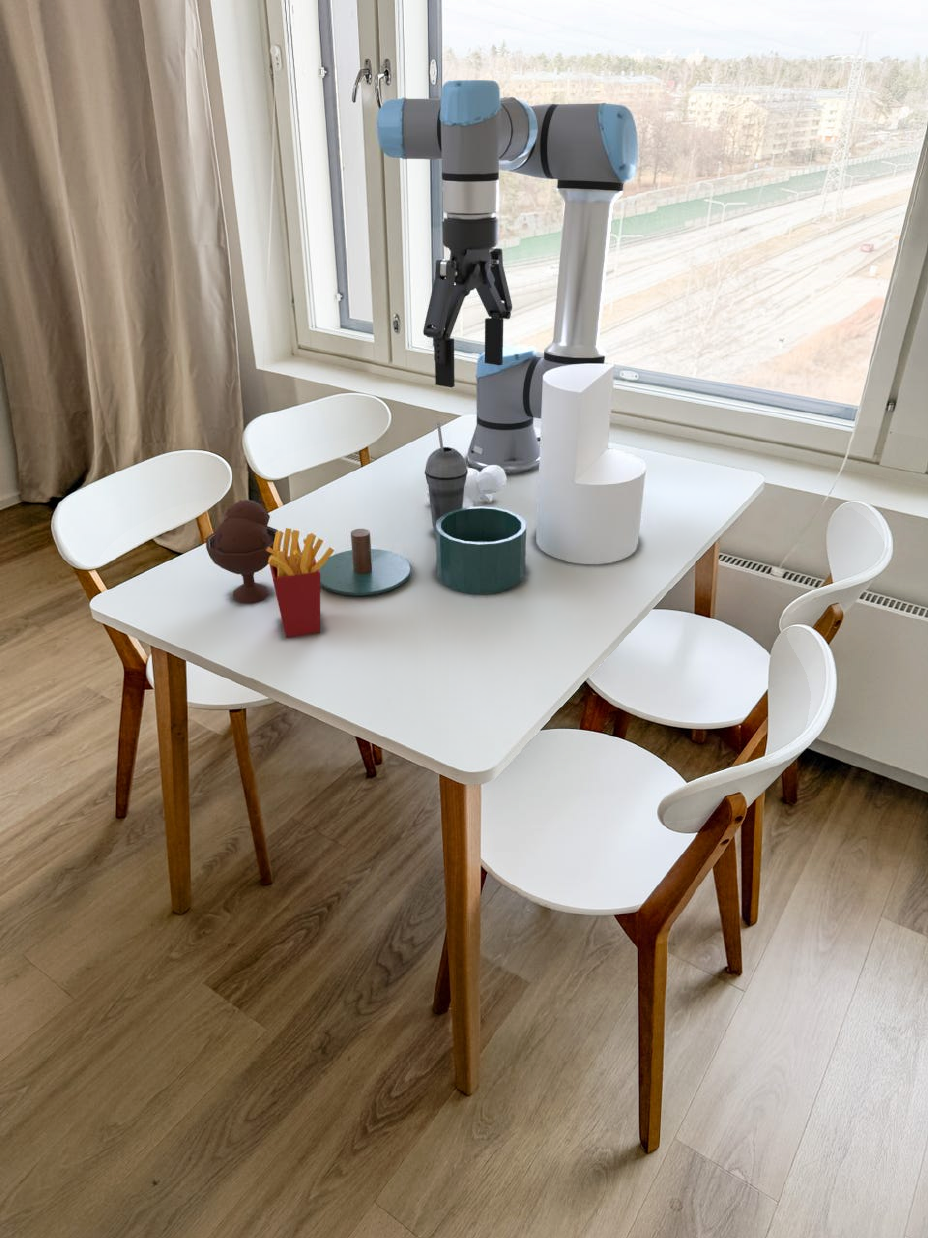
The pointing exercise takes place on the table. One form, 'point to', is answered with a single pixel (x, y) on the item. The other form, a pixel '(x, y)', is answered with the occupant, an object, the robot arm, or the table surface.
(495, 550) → the tin
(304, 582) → the french fries
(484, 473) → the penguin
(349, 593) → the tin lid
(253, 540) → the ice cream bowl
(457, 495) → the beverage cup
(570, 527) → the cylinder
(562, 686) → the table surface
